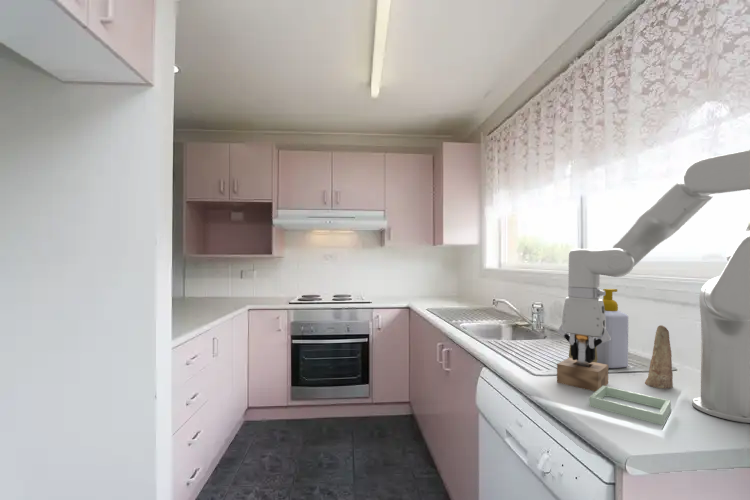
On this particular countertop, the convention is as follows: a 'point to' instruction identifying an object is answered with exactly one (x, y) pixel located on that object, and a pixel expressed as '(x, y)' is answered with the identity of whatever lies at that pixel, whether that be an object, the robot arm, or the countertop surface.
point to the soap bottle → (614, 335)
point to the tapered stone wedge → (661, 361)
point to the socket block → (582, 374)
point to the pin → (582, 350)
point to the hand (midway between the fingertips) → (582, 359)
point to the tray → (631, 411)
